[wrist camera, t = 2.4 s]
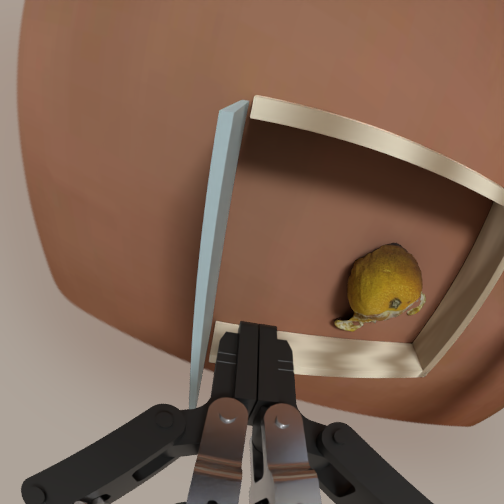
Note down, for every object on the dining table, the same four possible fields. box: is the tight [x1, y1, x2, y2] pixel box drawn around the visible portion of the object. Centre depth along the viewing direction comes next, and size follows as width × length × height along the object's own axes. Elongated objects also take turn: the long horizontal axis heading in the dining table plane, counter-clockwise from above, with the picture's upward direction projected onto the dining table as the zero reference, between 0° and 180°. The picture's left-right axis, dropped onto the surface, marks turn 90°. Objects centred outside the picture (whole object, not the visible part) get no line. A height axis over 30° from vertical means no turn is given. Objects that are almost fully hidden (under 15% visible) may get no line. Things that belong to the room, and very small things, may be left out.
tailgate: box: [189, 100, 249, 409], centre depth 15 cm, size 1×17×8 cm, turn 170°
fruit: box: [335, 243, 426, 331], centre depth 19 cm, size 8×8×4 cm
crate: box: [209, 95, 504, 378], centre depth 18 cm, size 20×18×4 cm
